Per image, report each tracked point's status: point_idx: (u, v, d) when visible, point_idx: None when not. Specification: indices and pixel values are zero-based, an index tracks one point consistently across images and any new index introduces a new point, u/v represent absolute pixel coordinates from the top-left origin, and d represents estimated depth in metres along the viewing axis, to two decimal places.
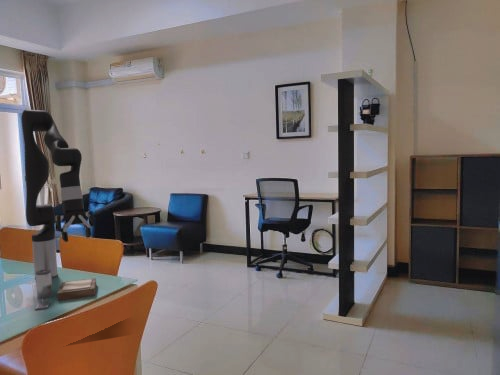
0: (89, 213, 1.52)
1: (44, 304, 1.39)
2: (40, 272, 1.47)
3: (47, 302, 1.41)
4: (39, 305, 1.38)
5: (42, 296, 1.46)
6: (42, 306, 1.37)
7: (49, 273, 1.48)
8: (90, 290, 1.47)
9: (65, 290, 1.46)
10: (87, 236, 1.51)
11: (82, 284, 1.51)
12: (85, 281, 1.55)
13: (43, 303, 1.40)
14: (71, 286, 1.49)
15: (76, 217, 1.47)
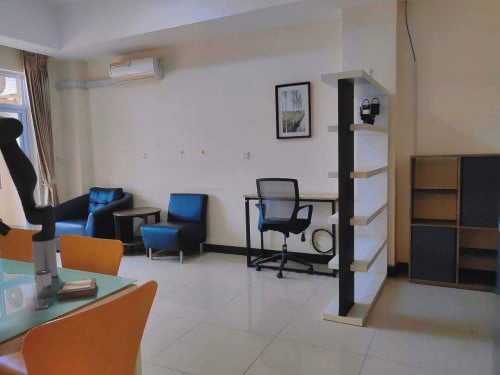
0: None
1: (44, 304, 1.39)
2: (40, 272, 1.47)
3: (47, 302, 1.41)
4: (39, 305, 1.38)
5: (42, 296, 1.46)
6: (42, 306, 1.37)
7: (49, 273, 1.48)
8: (90, 290, 1.47)
9: (65, 290, 1.46)
10: None
11: (82, 284, 1.51)
12: (85, 281, 1.55)
13: (43, 303, 1.40)
14: (71, 286, 1.49)
15: None
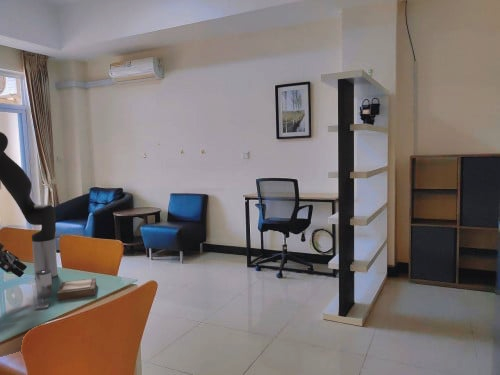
0: None
1: (44, 304, 1.39)
2: (40, 272, 1.47)
3: (47, 302, 1.41)
4: (39, 305, 1.38)
5: (42, 296, 1.46)
6: (42, 306, 1.37)
7: (49, 273, 1.48)
8: (90, 290, 1.47)
9: (65, 290, 1.46)
10: None
11: (82, 284, 1.51)
12: (85, 281, 1.55)
13: (43, 303, 1.40)
14: (71, 286, 1.49)
15: None
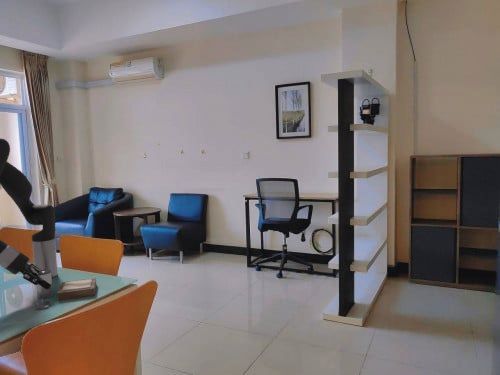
0: None
1: (44, 304, 1.39)
2: (40, 272, 1.47)
3: (47, 302, 1.41)
4: (39, 305, 1.38)
5: (42, 296, 1.46)
6: (42, 306, 1.37)
7: (49, 273, 1.48)
8: (90, 290, 1.47)
9: (65, 290, 1.46)
10: None
11: (82, 284, 1.51)
12: (85, 281, 1.55)
13: (43, 303, 1.40)
14: (71, 286, 1.49)
15: None
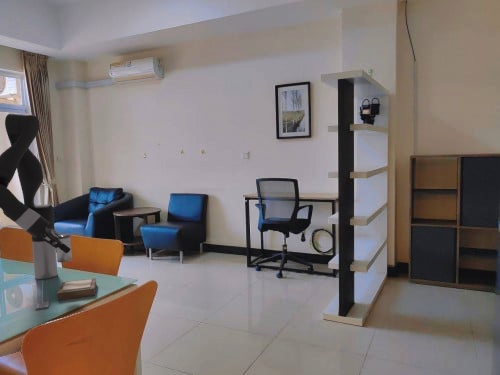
0: None
1: (44, 304, 1.39)
2: (60, 236, 1.47)
3: (47, 302, 1.41)
4: (39, 305, 1.38)
5: (62, 260, 1.47)
6: (42, 306, 1.37)
7: (69, 237, 1.48)
8: (90, 290, 1.47)
9: (65, 290, 1.46)
10: None
11: (82, 284, 1.51)
12: (85, 281, 1.55)
13: (43, 303, 1.40)
14: (71, 286, 1.49)
15: None
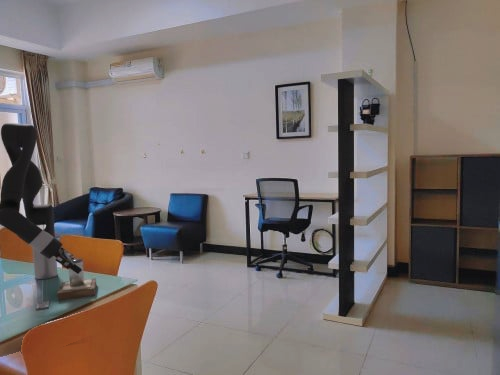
0: None
1: (44, 304, 1.39)
2: (73, 260, 1.50)
3: (47, 302, 1.41)
4: (39, 305, 1.38)
5: (75, 284, 1.49)
6: (42, 306, 1.37)
7: (81, 262, 1.51)
8: (90, 290, 1.47)
9: (65, 290, 1.46)
10: None
11: None
12: (85, 281, 1.55)
13: (43, 303, 1.40)
14: (71, 286, 1.49)
15: None
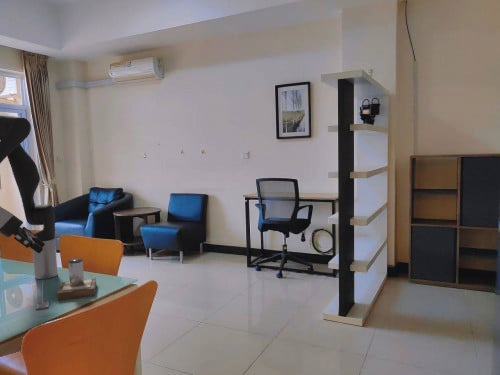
0: None
1: (44, 304, 1.39)
2: (72, 260, 1.50)
3: (47, 302, 1.41)
4: (39, 305, 1.38)
5: (74, 284, 1.49)
6: (43, 306, 1.37)
7: (81, 262, 1.51)
8: (90, 290, 1.47)
9: (65, 290, 1.46)
10: None
11: None
12: (85, 281, 1.55)
13: (43, 303, 1.40)
14: (71, 286, 1.49)
15: None
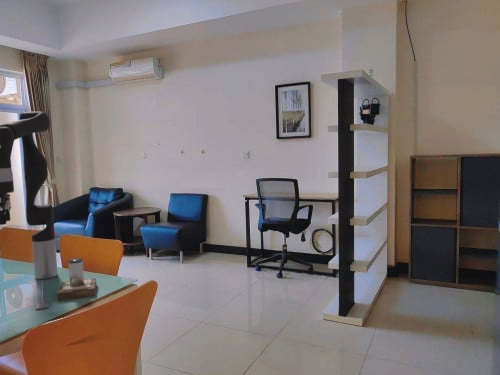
0: None
1: (44, 304, 1.39)
2: (73, 260, 1.50)
3: (47, 302, 1.41)
4: (39, 305, 1.38)
5: (75, 284, 1.49)
6: (43, 306, 1.37)
7: (81, 262, 1.51)
8: (90, 290, 1.47)
9: (65, 290, 1.46)
10: None
11: None
12: (85, 281, 1.55)
13: (43, 303, 1.40)
14: (71, 286, 1.49)
15: None
